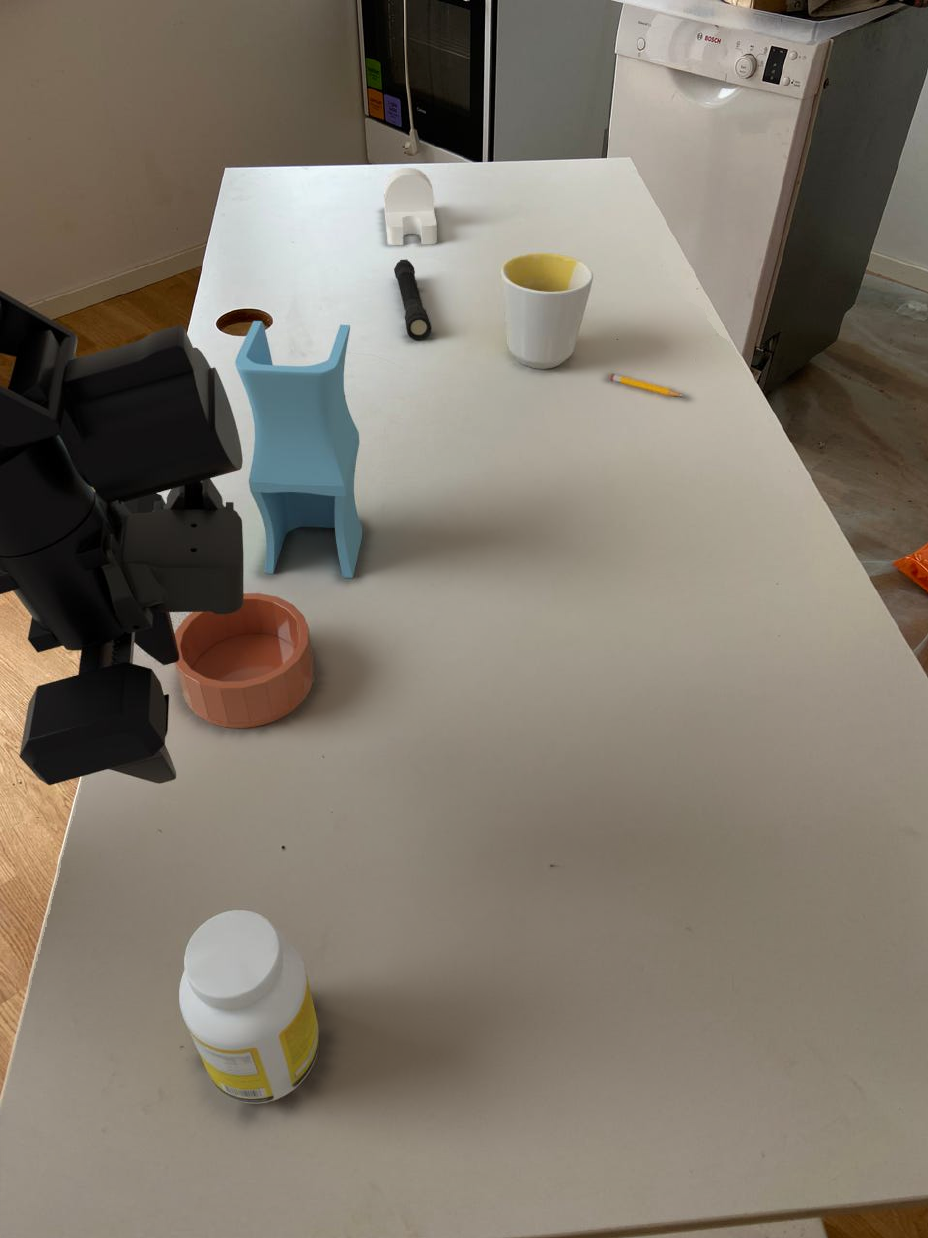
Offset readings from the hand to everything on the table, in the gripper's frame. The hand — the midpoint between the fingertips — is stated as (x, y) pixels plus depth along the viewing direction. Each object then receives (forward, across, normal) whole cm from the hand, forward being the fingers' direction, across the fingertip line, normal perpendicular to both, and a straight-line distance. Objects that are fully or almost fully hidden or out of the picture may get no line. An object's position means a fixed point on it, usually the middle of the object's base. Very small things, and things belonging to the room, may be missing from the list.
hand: (169, 717), depth 57 cm
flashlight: (+18, +75, -22) cm, 80 cm away
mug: (+21, +62, -35) cm, 74 cm away
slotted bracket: (+19, +101, -26) cm, 106 cm away
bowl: (+13, +14, -1) cm, 19 cm away
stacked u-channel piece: (+15, +30, -7) cm, 34 cm away
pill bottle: (+13, -15, 0) cm, 20 cm away
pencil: (+23, +52, -45) cm, 72 cm away
